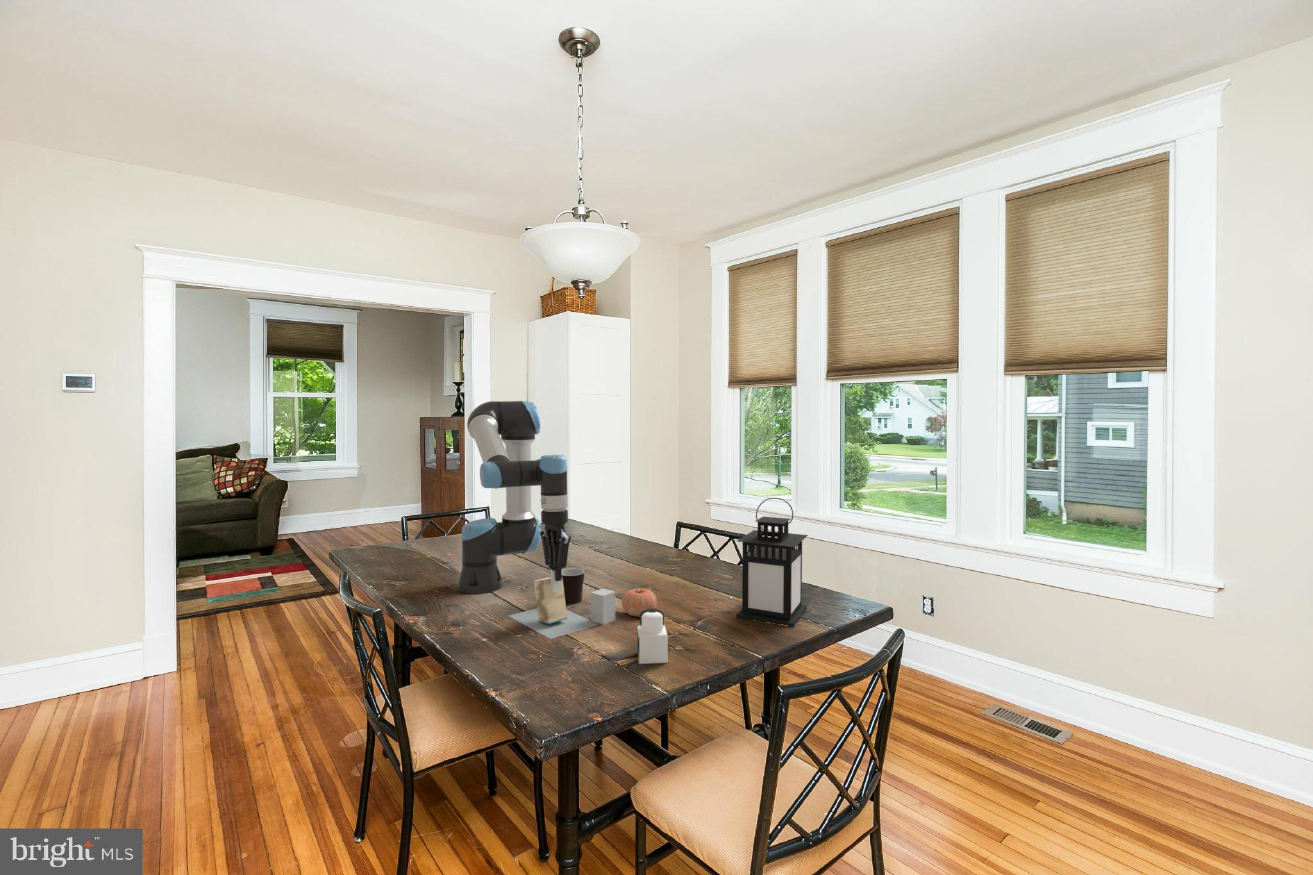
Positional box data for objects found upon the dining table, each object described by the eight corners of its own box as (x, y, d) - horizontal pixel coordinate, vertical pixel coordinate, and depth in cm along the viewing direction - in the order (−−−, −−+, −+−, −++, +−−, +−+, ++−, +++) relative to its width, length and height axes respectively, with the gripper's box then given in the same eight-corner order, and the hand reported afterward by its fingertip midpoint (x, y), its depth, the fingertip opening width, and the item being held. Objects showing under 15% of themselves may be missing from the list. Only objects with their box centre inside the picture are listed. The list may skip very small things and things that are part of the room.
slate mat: (508, 617, 182) (508, 615, 182) (554, 605, 193) (554, 604, 193) (550, 641, 164) (550, 638, 164) (598, 626, 175) (598, 624, 175)
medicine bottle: (637, 652, 156) (637, 606, 156) (664, 651, 157) (664, 605, 156) (638, 664, 149) (638, 616, 149) (667, 663, 150) (667, 615, 149)
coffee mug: (579, 607, 191) (579, 576, 190) (553, 606, 192) (553, 574, 192) (591, 596, 202) (590, 566, 201) (566, 594, 204) (566, 565, 203)
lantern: (736, 618, 181) (736, 501, 179) (753, 601, 197) (754, 493, 195) (793, 627, 174) (795, 505, 172) (807, 609, 189) (808, 497, 187)
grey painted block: (591, 622, 178) (590, 592, 177) (602, 618, 182) (602, 588, 181) (603, 626, 175) (603, 595, 174) (615, 621, 178) (615, 591, 178)
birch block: (538, 622, 176) (533, 580, 178) (556, 617, 180) (551, 576, 182) (549, 623, 172) (544, 580, 173) (567, 618, 176) (562, 576, 177)
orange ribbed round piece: (640, 606, 192) (640, 581, 192) (664, 614, 184) (664, 588, 184) (614, 614, 184) (613, 588, 184) (638, 624, 177) (638, 596, 176)
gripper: (531, 508, 176) (533, 589, 177) (555, 513, 166) (557, 599, 167) (553, 505, 181) (555, 584, 182) (578, 510, 171) (580, 593, 172)
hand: (556, 591), depth 174 cm, fingers closed
